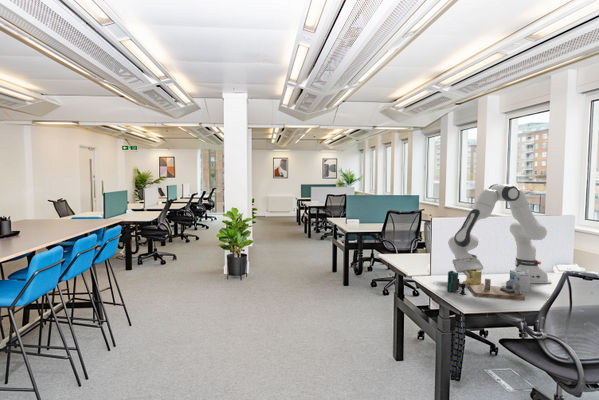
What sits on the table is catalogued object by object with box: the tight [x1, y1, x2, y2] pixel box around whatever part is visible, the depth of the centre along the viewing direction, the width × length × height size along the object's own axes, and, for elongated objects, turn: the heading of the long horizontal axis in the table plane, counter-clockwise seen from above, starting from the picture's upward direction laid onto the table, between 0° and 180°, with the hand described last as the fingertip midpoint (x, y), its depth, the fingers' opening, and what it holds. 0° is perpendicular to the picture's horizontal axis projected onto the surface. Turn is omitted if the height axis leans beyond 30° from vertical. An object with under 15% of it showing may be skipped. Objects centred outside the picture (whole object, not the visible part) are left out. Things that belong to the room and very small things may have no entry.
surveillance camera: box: [446, 270, 468, 296], centre depth 223 cm, size 6×12×10 cm
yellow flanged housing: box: [462, 270, 485, 286], centre depth 242 cm, size 11×11×9 cm
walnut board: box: [467, 278, 526, 301], centre depth 224 cm, size 26×18×8 cm
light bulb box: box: [509, 269, 531, 292], centre depth 235 cm, size 11×7×11 cm, turn 3°
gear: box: [499, 279, 515, 293], centre depth 223 cm, size 10×9×6 cm
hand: (474, 277), depth 242 cm, fingers open, 6 cm apart
